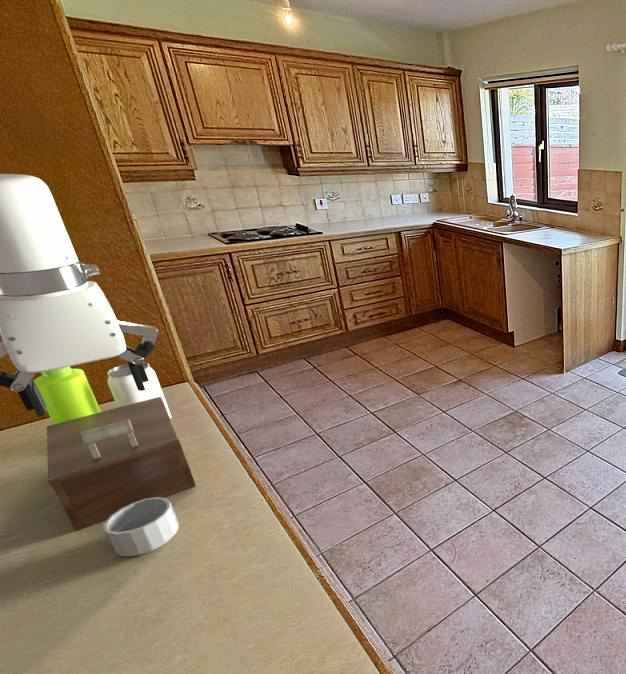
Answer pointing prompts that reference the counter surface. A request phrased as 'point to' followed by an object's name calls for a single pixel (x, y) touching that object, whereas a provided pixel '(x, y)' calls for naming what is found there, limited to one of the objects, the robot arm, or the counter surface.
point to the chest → (124, 485)
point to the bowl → (141, 526)
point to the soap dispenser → (66, 394)
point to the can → (133, 386)
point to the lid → (108, 439)
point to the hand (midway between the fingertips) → (94, 398)
